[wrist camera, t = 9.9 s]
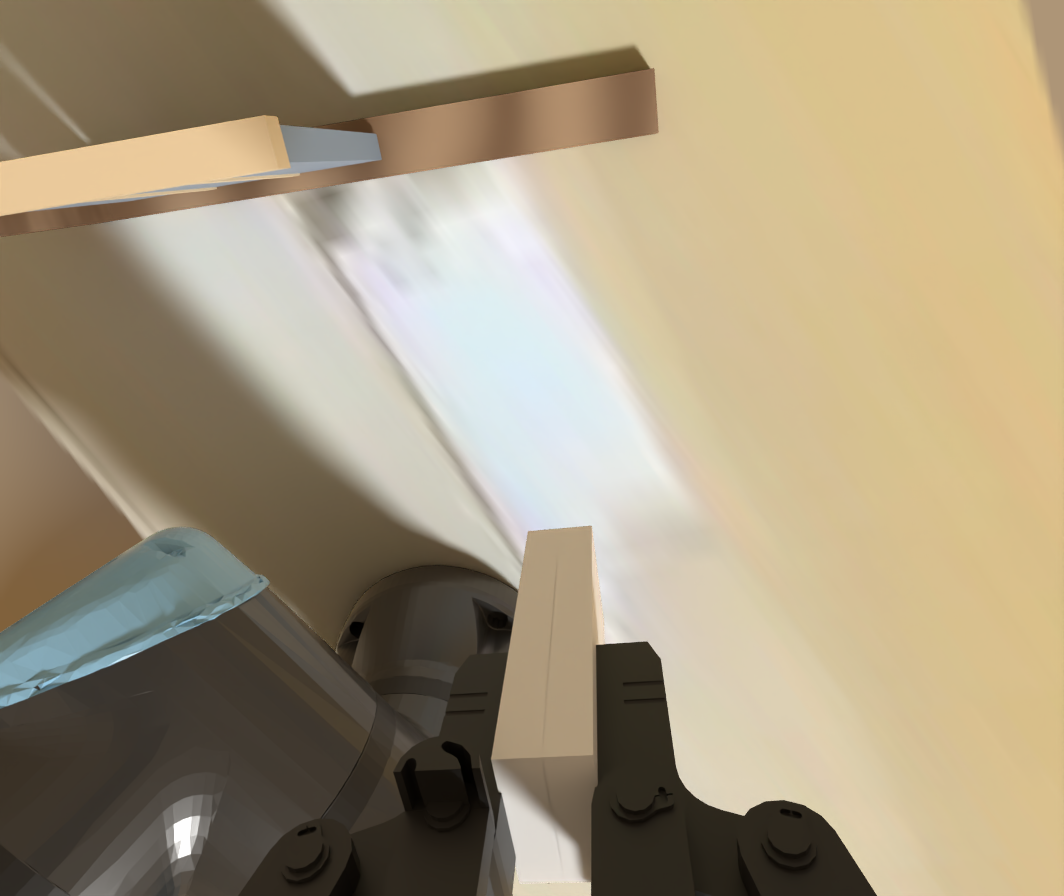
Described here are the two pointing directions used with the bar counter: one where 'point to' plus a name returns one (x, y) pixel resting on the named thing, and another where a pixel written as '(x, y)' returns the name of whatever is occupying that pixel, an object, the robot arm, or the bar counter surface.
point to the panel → (177, 163)
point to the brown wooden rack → (424, 144)
